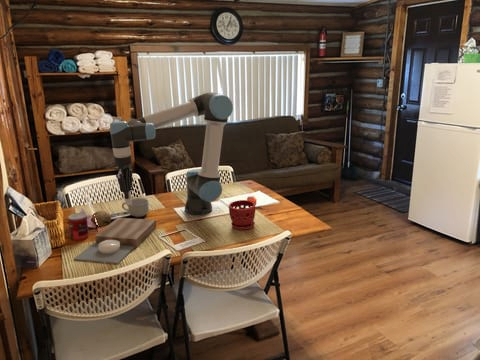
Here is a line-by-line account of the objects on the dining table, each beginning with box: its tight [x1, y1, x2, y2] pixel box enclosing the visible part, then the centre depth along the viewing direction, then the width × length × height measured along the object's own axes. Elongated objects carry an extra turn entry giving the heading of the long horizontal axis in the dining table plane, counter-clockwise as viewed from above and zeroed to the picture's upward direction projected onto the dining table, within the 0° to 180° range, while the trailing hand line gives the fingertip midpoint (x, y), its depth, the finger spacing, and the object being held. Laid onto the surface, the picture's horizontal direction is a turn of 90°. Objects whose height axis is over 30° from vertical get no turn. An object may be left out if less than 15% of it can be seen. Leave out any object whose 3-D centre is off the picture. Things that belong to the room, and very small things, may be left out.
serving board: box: [94, 217, 157, 248], centre depth 186 cm, size 20×22×4 cm
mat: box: [73, 242, 135, 265], centre depth 168 cm, size 20×15×1 cm
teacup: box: [121, 197, 150, 218], centre depth 210 cm, size 14×11×8 cm
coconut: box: [90, 210, 112, 227], centre depth 200 cm, size 10×10×8 cm
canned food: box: [67, 212, 90, 242], centre depth 183 cm, size 8×8×11 cm
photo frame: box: [158, 228, 206, 252], centre depth 181 cm, size 15×1×18 cm
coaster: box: [98, 240, 120, 254], centre depth 171 cm, size 9×9×2 cm
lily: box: [79, 207, 97, 229], centre depth 193 cm, size 12×12×10 cm
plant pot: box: [228, 199, 256, 231], centre depth 194 cm, size 13×13×12 cm
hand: (129, 204), depth 184 cm, fingers closed
